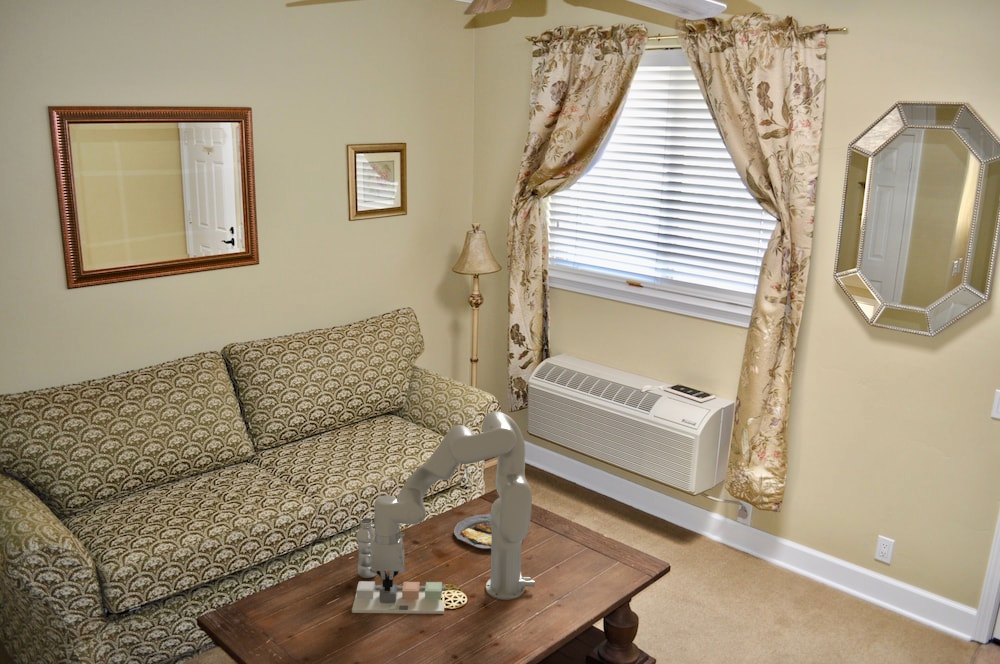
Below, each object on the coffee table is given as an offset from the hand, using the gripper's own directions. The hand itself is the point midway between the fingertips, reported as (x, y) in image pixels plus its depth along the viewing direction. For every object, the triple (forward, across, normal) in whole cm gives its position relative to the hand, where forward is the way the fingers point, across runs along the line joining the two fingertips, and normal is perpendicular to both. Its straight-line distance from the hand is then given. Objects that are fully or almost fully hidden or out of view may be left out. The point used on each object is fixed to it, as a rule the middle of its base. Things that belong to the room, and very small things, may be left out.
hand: (387, 588), depth 260 cm
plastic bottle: (+5, +8, -14) cm, 17 cm away
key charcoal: (+3, 0, 0) cm, 3 cm away
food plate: (+5, -32, -42) cm, 52 cm away
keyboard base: (+5, -4, 0) cm, 6 cm away
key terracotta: (+2, -7, 0) cm, 7 cm away
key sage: (+2, -14, 0) cm, 14 cm away
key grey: (+2, +7, 0) cm, 7 cm away
